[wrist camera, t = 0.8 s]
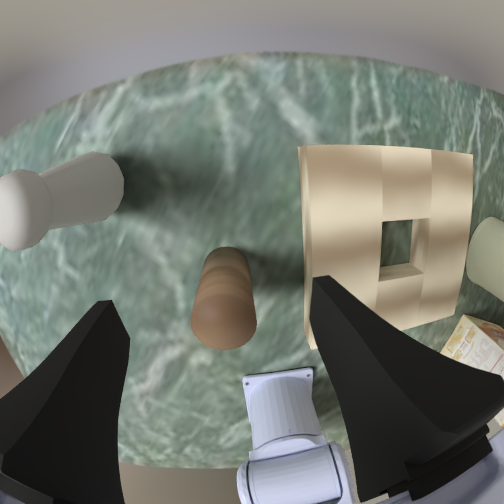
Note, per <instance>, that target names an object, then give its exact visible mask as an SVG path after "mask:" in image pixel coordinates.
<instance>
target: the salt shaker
mask: <svg viewBox="0 0 504 504" xmlns="http://www.w3.org/2000/svg"><path fill="white" fill-rule="evenodd" d="M123 195H124V177H123V175H122V172H121V170H120V168H119V165H118V164H117V163H116V162H115V161H114V160H113V159H112V158H111V157H110V156H109V155H107V154H103V153H97V152H90V153H87V154H84V155H81V156H78V157H76V158H73V159H71V160H69V161H66V162H64V163H62V164H59V165H57V166H55V167H53V168H51V169H48V170H46V171H44V172H42V173H40V174H37V173H36V172H33V171H28V170H24V169H22V170H15V171H12V172H10V173H8V174H6V175H4V176H2V177H1V178H0V243H1V244H2V245H3V246H4V247H6V248H8V249H10V250H12V251H14V252H16V251H20V250H23V249H27V248H30V247H33V246H34V245H36V244H37V243H39V242H40V240H41V239H42V238H43V237H44V236H45V234H46V233H47V232H48V230H50V229H56V228H62V227H68V226H74V225H81V224H87V223H94V222H98V221H102V220H105V219H107V218H108V217H109V216H110V215H111V214H112V213H113V212H114V211H116V210H117V209H118V207H119V204H120V202H121V199H122V197H123Z"/></svg>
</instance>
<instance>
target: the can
mask: <svg viewBox="0 0 504 504" xmlns="http://www.w3.org/2000/svg"><path fill="white" fill-rule="evenodd" d="M466 272H467V275H468V278H469V279H470V280H471V281H472V282H473V283H475V284H478V285H479V286H481V287H483V288H484V289H486V290H487V291H489V292H490V293H492V294H493V295H495V296H496V297H497V298H499V299H500V300H502V301H503V302H504V222H502V221H500V220H499V219H497V218H495V217H488V218H486V219H484V220H483V221H482V222H481V223H480V224H479V225H478V227H477V228H476V230H475V231H474V233H473V235H472V237H471V240H470V243H469V246H468V249H467V255H466Z"/></svg>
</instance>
